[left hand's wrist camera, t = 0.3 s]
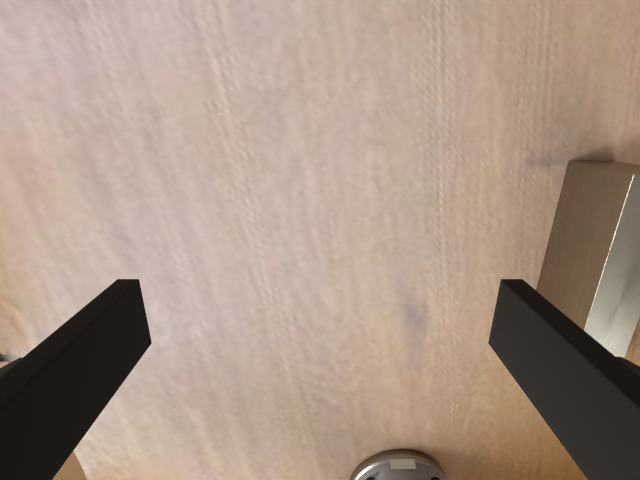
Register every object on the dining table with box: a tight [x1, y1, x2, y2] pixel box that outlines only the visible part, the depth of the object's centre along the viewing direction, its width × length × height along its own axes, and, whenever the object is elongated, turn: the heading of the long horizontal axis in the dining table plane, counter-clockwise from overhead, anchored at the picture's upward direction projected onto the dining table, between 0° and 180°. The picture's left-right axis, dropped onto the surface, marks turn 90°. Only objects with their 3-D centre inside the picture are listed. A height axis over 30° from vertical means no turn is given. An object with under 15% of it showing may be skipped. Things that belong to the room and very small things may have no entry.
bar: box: [536, 161, 640, 358], centre depth 39 cm, size 26×5×8 cm, turn 0°
